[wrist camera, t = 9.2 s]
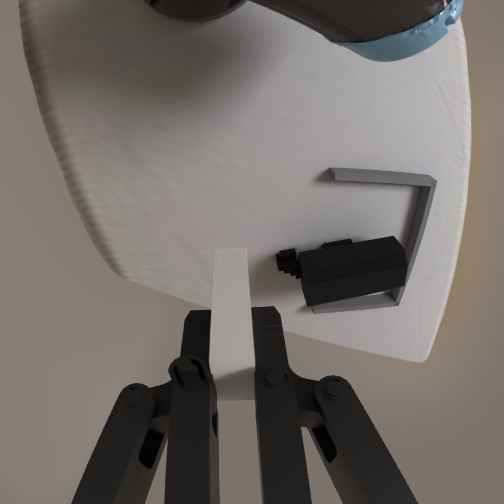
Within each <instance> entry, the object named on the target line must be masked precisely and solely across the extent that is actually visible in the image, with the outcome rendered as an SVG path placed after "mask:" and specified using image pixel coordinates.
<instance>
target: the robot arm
mask: <svg viewBox="0 0 504 504" xmlns="http://www.w3.org/2000/svg"><path fill="white" fill-rule="evenodd" d="M144 1H145V2H146V3H147V4H148V5H149V6H150V7H151V8H153V9H154V10H155V11H157V12H158V13H160V14H162V15H164V16H166V17H168V18H171V19H175V20H180V21H188V22H197V21H206V20H211V19H215V18H218V17H221V16H224V15H226V14H229V13H231V12H232V11H234V10H236V9H237V8H239V7H240V6H242V5H243V4H244V3H245V2H246V1H247V0H144ZM248 1H251V2H254V3H256V4H259V5H261V6H263V7H266V8H268V9H271V10H273V11H275V12H277V13H280V14H282V15H284V16H286V17H288V18H290V19H293V20H295V21H297V22H299V23H301V24H303V25H305V26H307V27H309V28H311V29H313V30H314V31H316V32H318V33H320V34H322V35H323V36H324V37H325V38H326V39H327V40H329V41H330V42H332V43H334V44H337V45H339V46H344V47H346V48H348V49H350V50H351V51H353V52H355V53H357V54H358V55H360V56H362V57H364V58H366V59H370V60H373V61H378V62H391V61H397V60H402V59H405V58H408V57H411V56H413V55H416V54H418V53H420V52H422V51H424V50H425V49H427V48H429V47H430V46H432V45H433V44H435V43H436V42H437V41H439V40H440V39H441V38H442V37H443V36H444V35H445V34H446V33H447V32H448V29H447V28H446V27H447V26H448V25H451V24H454V23H456V21H457V20H458V18H459V16H460V14H461V11H462V5H463V0H248ZM168 372H169V374H170V377H171V379H172V380H171V381H169V382H168V383H165V384H163V385H159V386H155V387H151V388H149V387H147V386H146V385H143V384H139V383H134V384H130V385H128V386H127V387H125V388H124V389H123V390H122V391H121V393H120V394H119V396H118V399H117V401H116V403H115V405H114V407H113V409H112V411H111V413H110V415H109V418H108V420H107V422H106V424H105V426H104V428H103V431H102V433H101V435H100V437H99V440H98V442H97V444H96V447H95V448H94V451H93V453H92V455H91V458H90V460H89V462H88V464H87V467H86V469H85V472H84V474H83V476H82V479H81V481H80V483H79V486H78V488H77V491H76V493H75V496H74V498H73V501H72V503H71V504H145V501H146V498H147V495H148V492H149V490H150V487H151V484H152V481H153V478H154V475H155V472H156V469H157V467H158V464H159V461H160V458H161V455H162V453H163V450H164V447H165V444H166V441H167V439H168V446H167V461H166V478H165V501H164V502H165V503H164V504H220V496H219V495H220V494H219V441H218V410H217V400H218V401H227V400H228V401H229V400H253V399H255V407H256V424H257V439H258V453H259V466H260V480H261V493H262V504H312V501H311V494H310V486H309V479H308V472H307V466H306V458H305V452H304V445H303V438H302V432H301V427H307V429H308V431H309V432H310V435H311V437H312V439H313V441H314V444H315V446H316V448H317V450H318V452H319V454H320V456H321V459H322V460H323V463H324V465H325V467H326V469H327V471H328V473H329V475H330V478H331V480H332V482H333V484H334V486H335V488H336V490H337V492H338V494H339V496H340V498H341V500H342V502H343V504H418V503H417V501H416V499H415V497H414V495H413V494H412V492H411V490H410V488H409V486H408V484H407V483H406V481H405V479H404V477H403V475H402V474H401V472H400V470H399V468H398V467H397V465H396V463H395V461H394V459H393V458H392V456H391V454H390V453H389V451H388V449H387V447H386V445H385V444H384V442H383V440H382V438H381V437H380V435H379V433H378V432H377V430H376V428H375V426H374V424H373V423H372V421H371V419H370V418H369V416H368V414H367V412H366V411H365V409H364V407H363V405H362V404H361V402H360V400H359V399H358V397H357V395H356V394H355V392H354V390H353V388H352V387H351V385H350V384H349V383H348V381H347V380H346V379H344V378H342V377H340V376H334V375H332V376H326V377H324V378H322V379H321V380H320V381H316V380H310V379H305V378H302V377H300V376H298V375H296V374H295V373H294V372H293V371H292V370H291V368H290V367H289V363H288V359H287V352H286V346H285V340H284V335H283V328H282V322H281V316H280V314H279V312H278V311H277V310H276V308H275V307H274V306H269V307H251V302H250V289H249V276H248V262H247V249H246V248H227V249H215V262H214V277H213V293H212V310H191V311H190V312H189V314H188V315H187V317H186V319H185V322H184V331H183V339H182V345H181V354H180V357H179V358H177V359H175V360H174V361H173V362H172V363H171V365H170V366H169V369H168Z"/></svg>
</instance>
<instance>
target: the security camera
mask: <svg viewBox="0 0 504 504" xmlns="http://www.w3.org/2000/svg"><path fill="white" fill-rule="evenodd" d="M406 259H407V257H406V254H405V249H404V248H403V247H402V245H401V244H400V243H399V242H398V241H397V239H396V238H395V237H394V236H390V237H384V238H378V239H373V240H367V241H362V242H356V243H352V240H351V239H346V240H340V241H334V242H328V243H323V248H322V249H316V250H310V251H305V252H299V255H298V258H297V260H296V251H295V248H294V249H288V250H282V251H280V254H276V260H277V267H278V269H279V271H284V272H285V273H290V275H291V276H293V275H295V276H296V279H299V278H301V284H302V290H303V294H304V297H305V300H306V304H307V307H310V306H315V305H320V304H325V303H330V302H335V301H340V300H345V299H350V298H354V297H359V296H364V295H368V294H373V293H377V292H382V291H386V290H390V289H394V288H399V287H403V286H405V281H406V276H407V270H408V264H407V261H406Z"/></svg>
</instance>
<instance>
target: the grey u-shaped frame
mask: <svg viewBox="0 0 504 504" xmlns="http://www.w3.org/2000/svg"><path fill="white" fill-rule="evenodd" d="M329 174H330V176H331V177H332V178H333V179H334V180H338V181H362V182H380V183H395V184H409V185H421V191H420V195H419V199H418V204H417V208H416V212H415V216H414V219H413V223H412V227H411V231H410V234H409V238H408V241H407V245H406V248H405V254H406V257H407V259H406V261H407V264H408V270H407V276H406V281H405V286H403V287H399V288H394V289H392V291H391V294H383V295H372V296H360V297H354V298H350V299H345V300H340V301H335V302H330V303H325V304H320V305H315V306H311V307H312V311H313V314H317V313H330V312H342V311H353V310H363V309H373V308H382V307H391V306H398V305H399V303H400V300H401V298H402V295H403V292H404V290H405V287H406V284H407V282H408V279H409V276H410V273H411V270H412V267H413V264H414V262H415V259H416V255H417V252H418V249H419V246H420V243H421V240H422V236H423V233H424V230H425V226H426V223H427V219H428V215H429V212H430V208H431V204H432V200H433V196H434V192H435V188H436V184H437V181H436V180H435V179H434V178H432V177H431V176H429V175H423V174H414V173H403V172H392V171H380V170H366V169H350V168H330V173H329Z"/></svg>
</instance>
